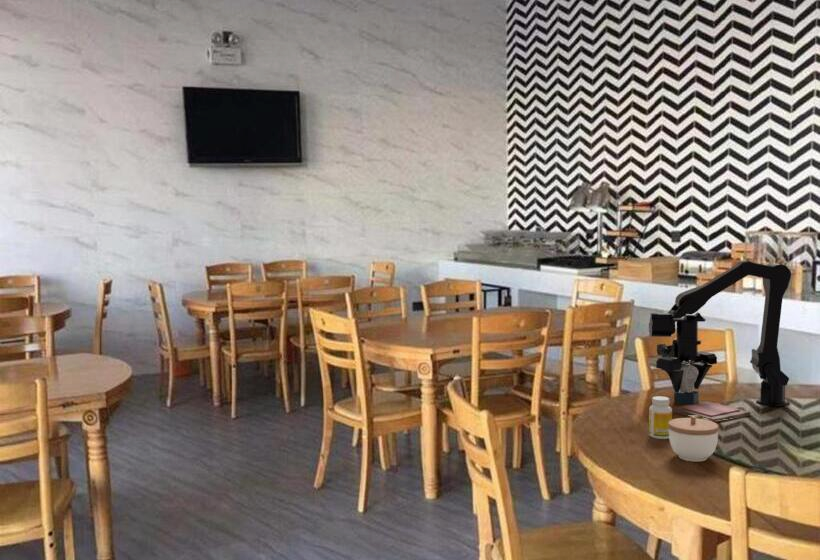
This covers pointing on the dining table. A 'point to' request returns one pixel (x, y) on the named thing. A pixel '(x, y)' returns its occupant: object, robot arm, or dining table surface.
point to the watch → (687, 386)
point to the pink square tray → (711, 411)
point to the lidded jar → (693, 438)
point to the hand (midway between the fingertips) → (686, 390)
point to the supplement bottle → (659, 417)
